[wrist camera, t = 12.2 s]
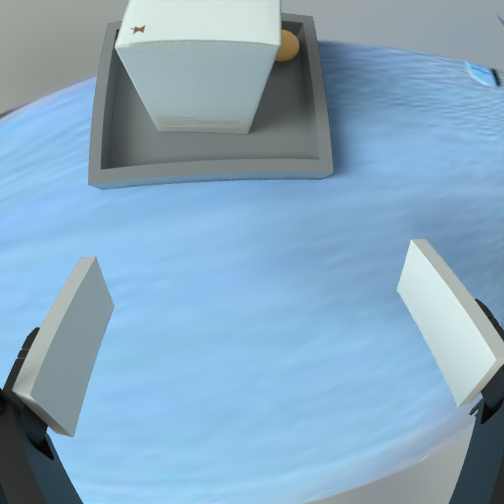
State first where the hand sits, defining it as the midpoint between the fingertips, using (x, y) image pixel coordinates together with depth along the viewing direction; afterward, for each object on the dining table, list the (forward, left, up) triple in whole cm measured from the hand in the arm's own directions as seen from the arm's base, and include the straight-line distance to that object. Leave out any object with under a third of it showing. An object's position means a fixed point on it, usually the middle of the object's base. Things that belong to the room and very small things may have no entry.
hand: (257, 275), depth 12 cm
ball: (-4, -17, -11) cm, 21 cm away
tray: (+2, -13, -12) cm, 18 cm away
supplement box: (+2, -13, -12) cm, 18 cm away
